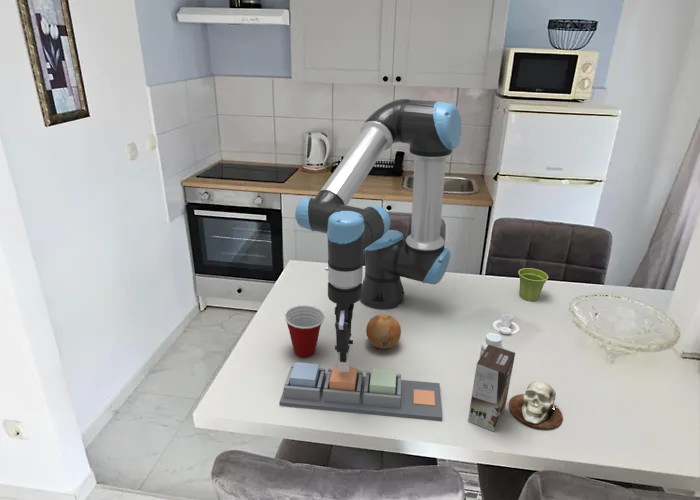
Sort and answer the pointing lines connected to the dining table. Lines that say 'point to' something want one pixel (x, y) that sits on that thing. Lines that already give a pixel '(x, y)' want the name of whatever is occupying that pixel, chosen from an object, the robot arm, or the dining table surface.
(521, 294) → the plant pot
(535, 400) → the skull
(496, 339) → the supplement bottle
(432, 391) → the console
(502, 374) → the coffee box
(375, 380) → the button sage
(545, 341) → the dining table surface
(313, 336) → the plastic cup
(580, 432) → the dining table surface
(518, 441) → the dining table surface
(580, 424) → the dining table surface
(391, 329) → the onion
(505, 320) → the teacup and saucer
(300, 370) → the button slate
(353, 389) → the button terracotta
